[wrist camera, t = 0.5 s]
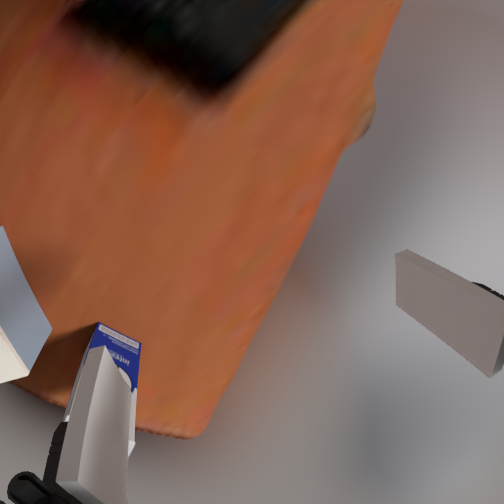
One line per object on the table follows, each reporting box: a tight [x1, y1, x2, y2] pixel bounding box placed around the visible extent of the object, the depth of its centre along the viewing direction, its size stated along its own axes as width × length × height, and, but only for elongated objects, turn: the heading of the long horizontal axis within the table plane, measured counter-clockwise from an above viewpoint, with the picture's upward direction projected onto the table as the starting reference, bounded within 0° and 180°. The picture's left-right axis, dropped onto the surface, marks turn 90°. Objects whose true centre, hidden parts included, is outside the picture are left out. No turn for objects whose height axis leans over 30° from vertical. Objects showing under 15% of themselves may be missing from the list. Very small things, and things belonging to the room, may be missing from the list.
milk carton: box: [63, 322, 141, 457], centre depth 31 cm, size 7×7×20 cm
